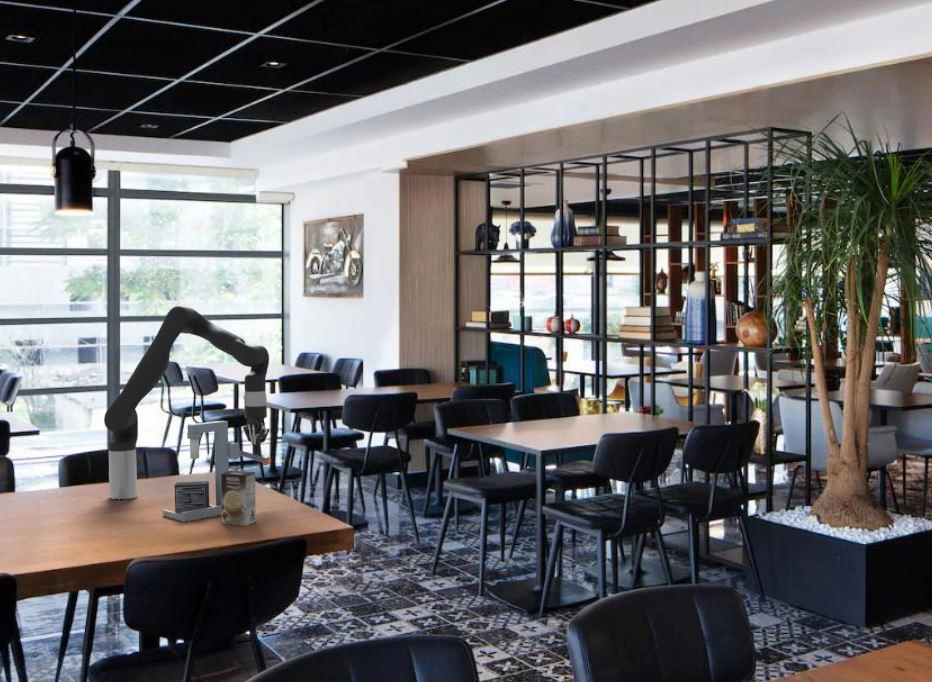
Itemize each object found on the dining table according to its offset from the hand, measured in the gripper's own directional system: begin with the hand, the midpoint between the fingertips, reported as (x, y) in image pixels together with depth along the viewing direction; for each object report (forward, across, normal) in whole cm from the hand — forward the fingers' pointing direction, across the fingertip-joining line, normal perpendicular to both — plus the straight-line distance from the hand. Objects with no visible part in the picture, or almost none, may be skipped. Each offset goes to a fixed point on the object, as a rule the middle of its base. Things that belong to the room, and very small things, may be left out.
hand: (256, 454), depth 349 cm
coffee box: (+18, -19, +20) cm, 32 cm away
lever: (+1, 0, +3) cm, 4 cm away
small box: (+18, +4, +23) cm, 29 cm away
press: (+17, +2, +20) cm, 26 cm away
